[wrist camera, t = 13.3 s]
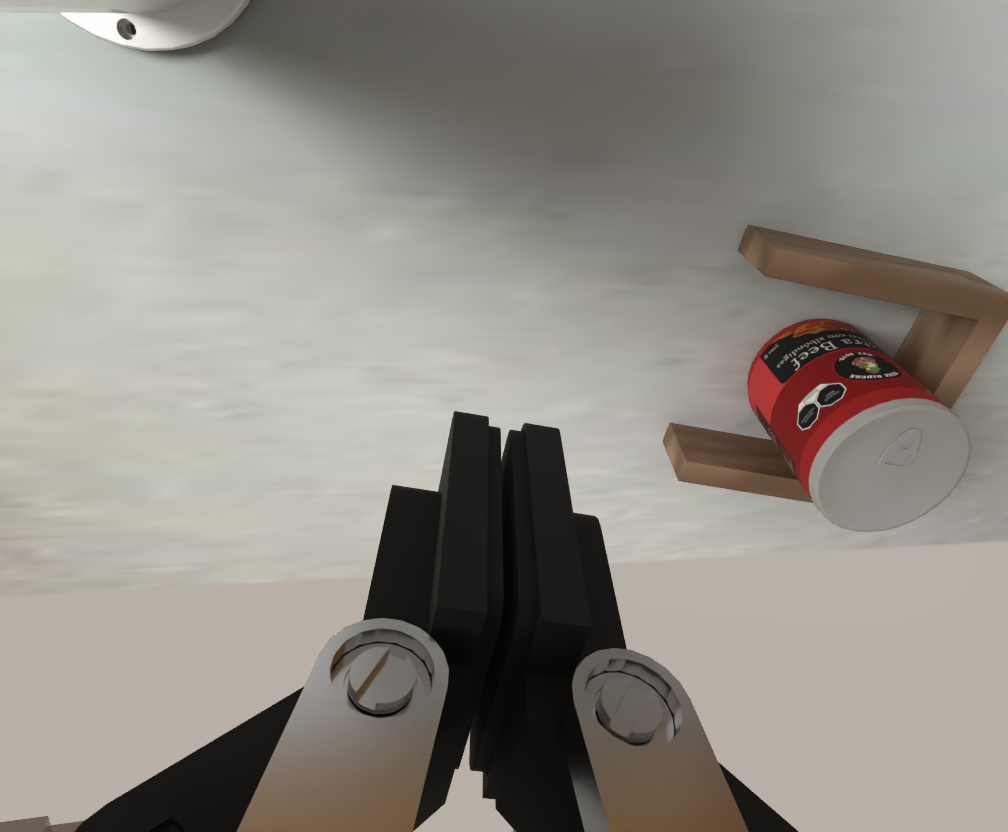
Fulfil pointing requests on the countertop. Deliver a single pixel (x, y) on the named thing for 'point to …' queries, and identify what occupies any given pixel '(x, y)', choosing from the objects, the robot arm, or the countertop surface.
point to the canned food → (856, 426)
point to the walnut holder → (924, 355)
